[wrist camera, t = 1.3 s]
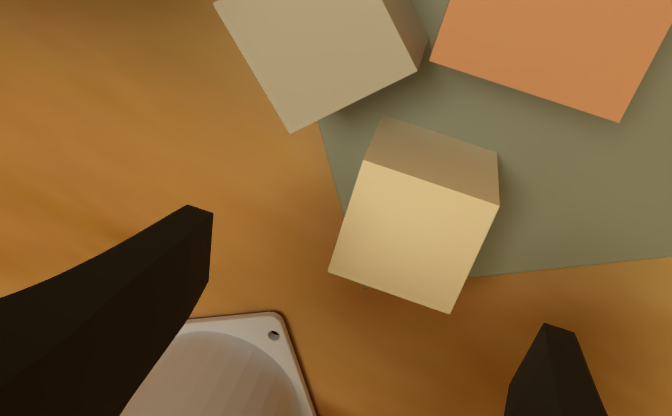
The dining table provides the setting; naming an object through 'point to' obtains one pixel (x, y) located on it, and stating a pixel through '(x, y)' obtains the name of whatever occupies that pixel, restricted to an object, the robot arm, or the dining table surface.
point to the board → (535, 160)
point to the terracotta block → (557, 47)
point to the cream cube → (417, 214)
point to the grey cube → (324, 50)
